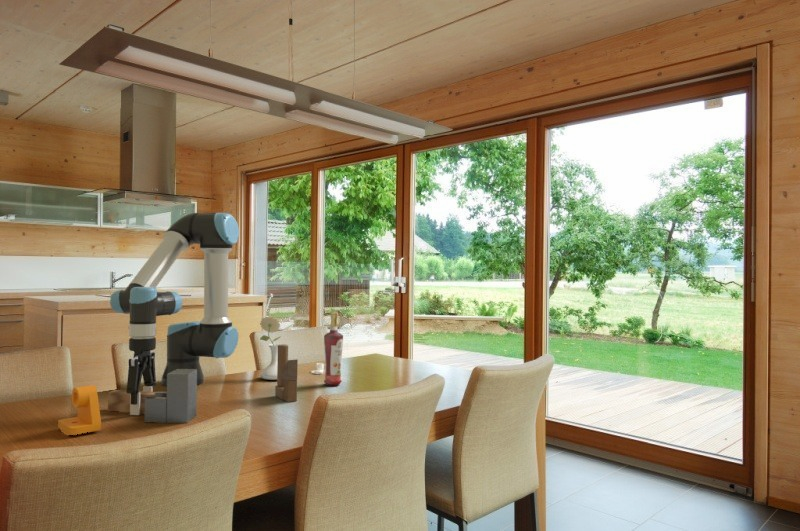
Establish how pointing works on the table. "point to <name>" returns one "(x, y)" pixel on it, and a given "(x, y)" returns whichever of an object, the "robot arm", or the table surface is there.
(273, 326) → the flower in vase
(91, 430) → the bracket
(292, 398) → the wooden block
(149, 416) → the grey stepped block
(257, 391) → the table surface
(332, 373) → the liquor
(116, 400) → the brown wooden bar
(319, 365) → the teacup and saucer
